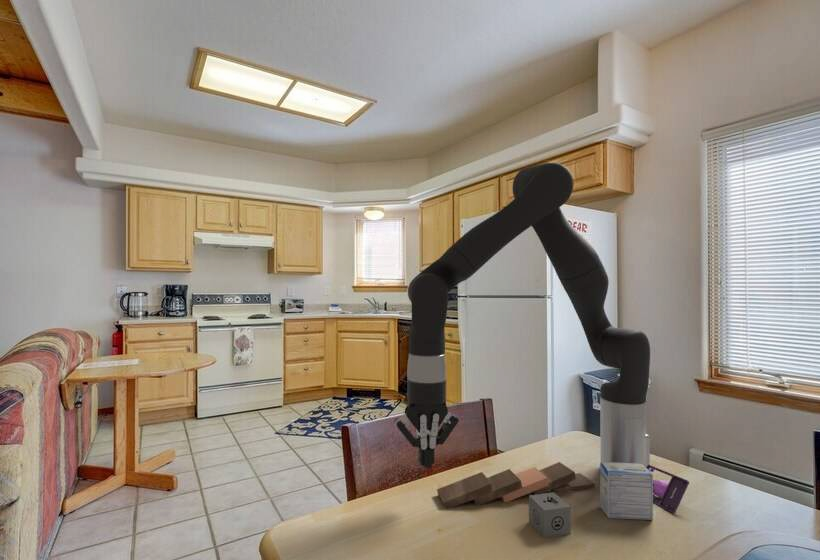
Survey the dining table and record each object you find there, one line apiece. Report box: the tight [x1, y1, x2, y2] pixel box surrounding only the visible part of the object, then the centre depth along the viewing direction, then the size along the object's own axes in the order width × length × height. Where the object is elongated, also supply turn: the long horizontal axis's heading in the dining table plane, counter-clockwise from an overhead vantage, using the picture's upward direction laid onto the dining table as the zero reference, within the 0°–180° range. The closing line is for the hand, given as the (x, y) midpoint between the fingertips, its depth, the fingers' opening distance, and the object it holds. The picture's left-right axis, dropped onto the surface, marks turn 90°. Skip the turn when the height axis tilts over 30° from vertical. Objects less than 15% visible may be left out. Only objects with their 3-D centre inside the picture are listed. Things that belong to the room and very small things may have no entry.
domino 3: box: [500, 466, 549, 503], centre depth 85 cm, size 2×5×10 cm
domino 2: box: [472, 468, 523, 506], centre depth 83 cm, size 2×5×10 cm
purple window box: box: [646, 464, 690, 515], centre depth 82 cm, size 7×5×9 cm
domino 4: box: [530, 461, 576, 495], centre depth 87 cm, size 2×5×10 cm
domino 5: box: [549, 472, 597, 495], centre depth 88 cm, size 2×5×10 cm
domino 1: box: [436, 471, 493, 509], centre depth 82 cm, size 2×5×10 cm
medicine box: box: [599, 461, 654, 521], centre depth 77 cm, size 8×4×9 cm, turn 84°
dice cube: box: [528, 492, 572, 539], centre depth 72 cm, size 5×5×5 cm
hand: (426, 466), depth 80 cm, fingers closed
